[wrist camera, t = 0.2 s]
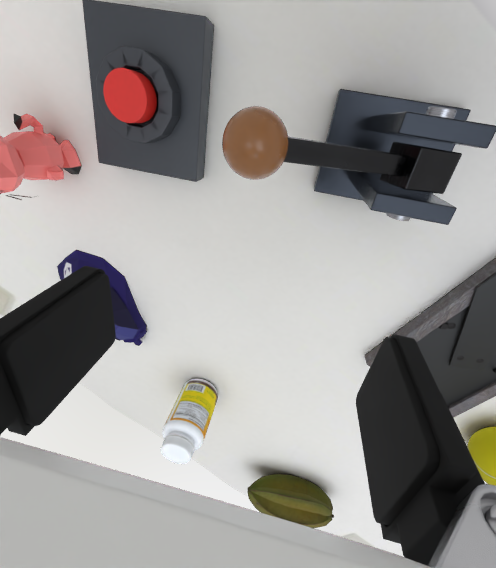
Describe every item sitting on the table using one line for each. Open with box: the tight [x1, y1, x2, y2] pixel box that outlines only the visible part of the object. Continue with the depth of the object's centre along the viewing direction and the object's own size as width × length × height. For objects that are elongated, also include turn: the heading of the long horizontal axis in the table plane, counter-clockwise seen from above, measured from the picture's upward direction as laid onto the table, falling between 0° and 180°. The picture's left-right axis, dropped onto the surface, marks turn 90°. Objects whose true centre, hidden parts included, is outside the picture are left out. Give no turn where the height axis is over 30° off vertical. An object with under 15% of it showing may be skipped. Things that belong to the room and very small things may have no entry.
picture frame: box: [365, 258, 496, 417], centre depth 32 cm, size 13×2×18 cm
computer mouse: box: [57, 250, 147, 346], centre depth 38 cm, size 9×15×4 cm, turn 36°
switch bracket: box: [314, 89, 496, 225], centre depth 21 cm, size 10×8×12 cm
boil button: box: [103, 68, 157, 123], centre depth 23 cm, size 4×4×2 cm
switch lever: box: [222, 106, 462, 194], centre depth 16 cm, size 13×3×3 cm, turn 82°
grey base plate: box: [83, 0, 214, 182], centre depth 25 cm, size 12×10×4 cm
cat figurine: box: [0, 114, 81, 200], centre depth 26 cm, size 7×7×12 cm
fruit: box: [248, 474, 334, 528], centre depth 49 cm, size 11×12×7 cm
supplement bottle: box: [161, 379, 218, 464], centre depth 40 cm, size 6×6×10 cm
